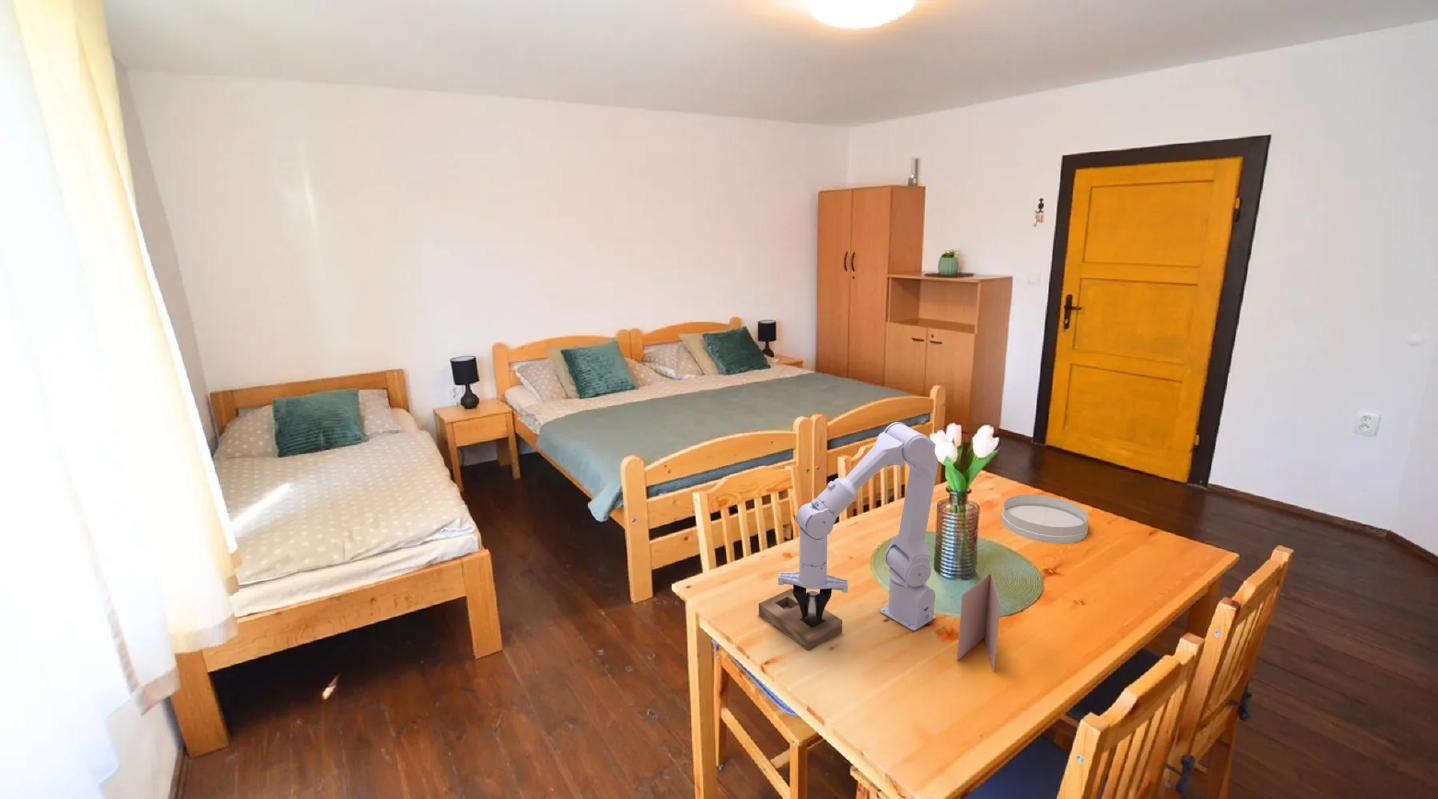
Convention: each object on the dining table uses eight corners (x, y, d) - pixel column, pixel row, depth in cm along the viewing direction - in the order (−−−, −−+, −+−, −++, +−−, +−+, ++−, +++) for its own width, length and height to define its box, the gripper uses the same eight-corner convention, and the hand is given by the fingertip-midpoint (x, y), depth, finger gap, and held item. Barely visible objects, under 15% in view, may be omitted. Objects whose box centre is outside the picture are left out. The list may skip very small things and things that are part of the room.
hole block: (841, 632, 138) (842, 620, 138) (808, 650, 133) (808, 638, 132) (791, 599, 151) (791, 588, 150) (758, 615, 145) (758, 603, 144)
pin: (819, 621, 139) (820, 592, 137) (817, 628, 136) (818, 599, 135) (807, 618, 140) (807, 590, 138) (804, 626, 137) (804, 596, 136)
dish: (1089, 519, 187) (1092, 503, 186) (1084, 551, 169) (1086, 534, 168) (1007, 504, 199) (1009, 489, 198) (994, 532, 181) (996, 516, 180)
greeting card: (980, 634, 136) (986, 571, 132) (1015, 650, 131) (1022, 585, 127) (952, 658, 129) (958, 592, 125) (988, 677, 124) (995, 608, 120)
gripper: (849, 553, 136) (847, 610, 140) (781, 547, 140) (781, 602, 143) (847, 570, 129) (845, 629, 133) (776, 563, 133) (776, 620, 137)
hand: (812, 616), depth 138 cm, fingers closed on pin, 3 cm apart
